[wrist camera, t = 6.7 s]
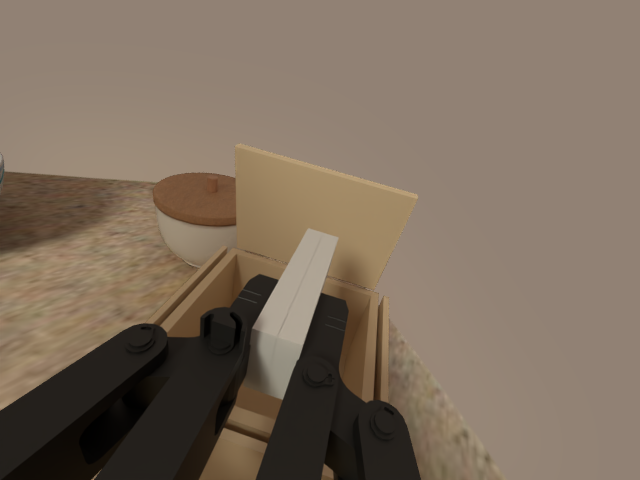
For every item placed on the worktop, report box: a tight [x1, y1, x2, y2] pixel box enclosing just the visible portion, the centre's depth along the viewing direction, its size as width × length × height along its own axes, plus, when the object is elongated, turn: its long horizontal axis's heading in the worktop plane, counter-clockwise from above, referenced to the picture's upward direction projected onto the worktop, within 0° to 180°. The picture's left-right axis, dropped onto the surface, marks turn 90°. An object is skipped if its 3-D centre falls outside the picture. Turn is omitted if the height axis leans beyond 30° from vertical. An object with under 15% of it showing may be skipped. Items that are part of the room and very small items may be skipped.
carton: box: [145, 246, 389, 480], centre depth 20 cm, size 14×13×8 cm
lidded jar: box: [153, 173, 247, 268], centre depth 32 cm, size 11×11×9 cm
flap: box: [235, 143, 418, 290], centre depth 20 cm, size 11×1×8 cm, turn 78°
